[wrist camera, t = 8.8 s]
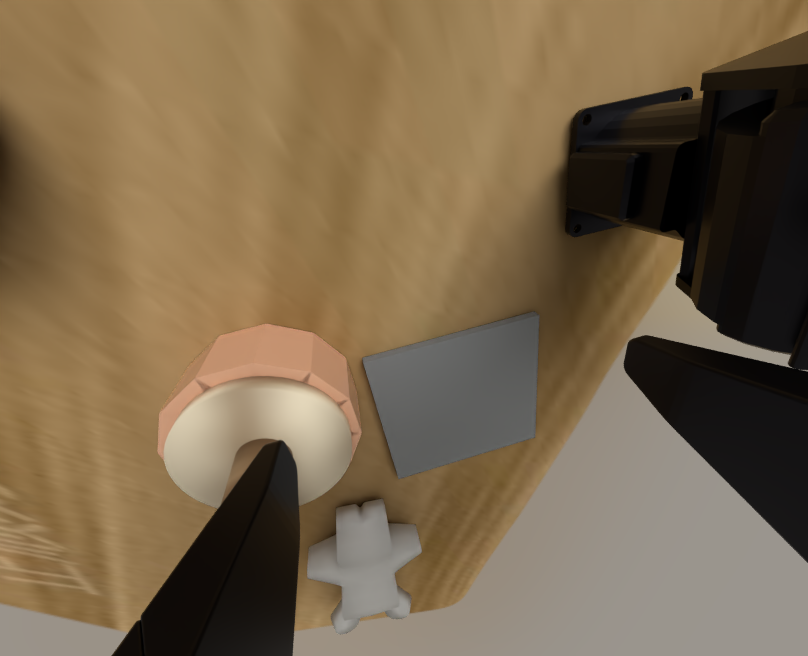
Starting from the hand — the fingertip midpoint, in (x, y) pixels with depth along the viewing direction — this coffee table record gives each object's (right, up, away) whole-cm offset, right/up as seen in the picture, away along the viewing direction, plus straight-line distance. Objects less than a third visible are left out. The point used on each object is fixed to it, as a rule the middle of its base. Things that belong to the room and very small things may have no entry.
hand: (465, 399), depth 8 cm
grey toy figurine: (-5, -19, +23) cm, 30 cm away
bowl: (-10, -3, +13) cm, 17 cm away
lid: (-9, -4, +10) cm, 14 cm away
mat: (+3, -4, +17) cm, 17 cm away
